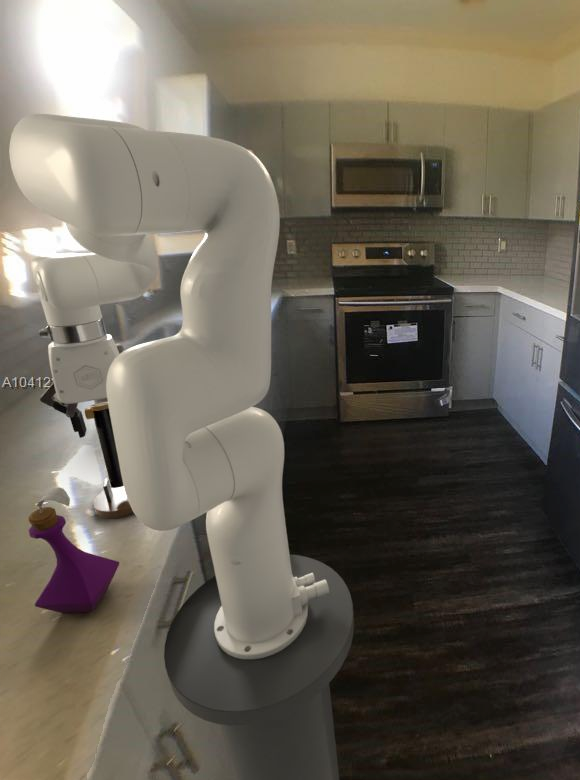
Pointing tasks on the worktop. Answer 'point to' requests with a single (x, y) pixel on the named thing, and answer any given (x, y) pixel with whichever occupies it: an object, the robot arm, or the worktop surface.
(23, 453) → the worktop surface
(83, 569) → the perfume bottle
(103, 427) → the rod
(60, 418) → the worktop surface
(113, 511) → the holder base
